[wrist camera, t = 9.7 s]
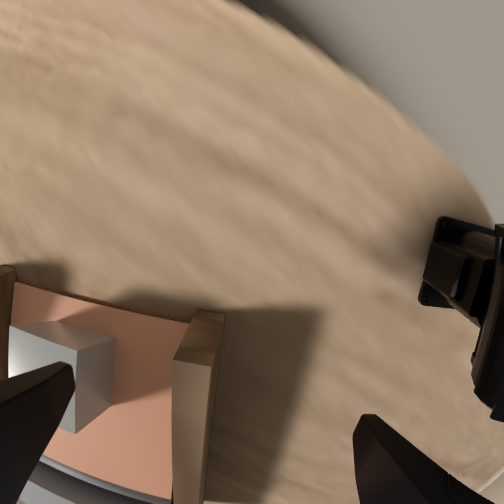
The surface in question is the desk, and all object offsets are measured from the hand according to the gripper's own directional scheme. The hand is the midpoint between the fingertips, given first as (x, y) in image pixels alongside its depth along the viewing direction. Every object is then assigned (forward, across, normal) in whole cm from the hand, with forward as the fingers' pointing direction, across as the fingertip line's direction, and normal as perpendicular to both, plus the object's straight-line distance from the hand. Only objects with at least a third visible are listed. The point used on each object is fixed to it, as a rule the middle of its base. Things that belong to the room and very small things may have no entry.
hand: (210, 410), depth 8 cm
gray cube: (+11, +11, +8) cm, 17 cm away
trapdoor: (+11, +11, +15) cm, 22 cm away
